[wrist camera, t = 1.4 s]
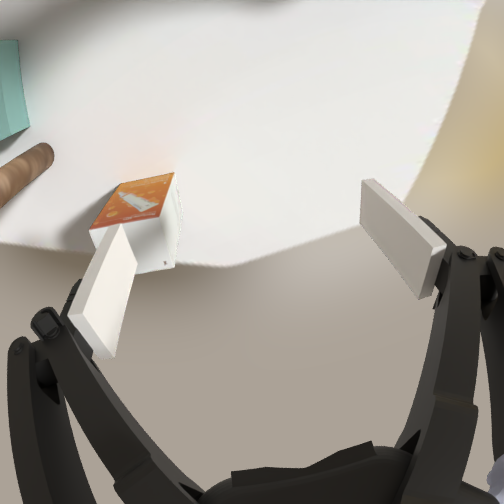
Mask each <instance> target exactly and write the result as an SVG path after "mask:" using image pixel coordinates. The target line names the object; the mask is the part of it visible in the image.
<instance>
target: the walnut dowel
mask: <svg viewBox="0 0 504 504" xmlns="http://www.w3.org/2000/svg"><path fill="white" fill-rule="evenodd" d="M53 161H54V152H53V149H52V148H51V146H50V145H49V144H47V143H39V144H37V145H36V146H34V147H32V148H31V149H29V150H27V151H26V152H24V153H22V154H21V155H19V156H17V157H16V158H14V159H13V160H11V161H10V162H8V163H7V164H5V165H4V166H2V167H1V168H0V208H2V207H3V206H4V205H5V204H6V203H7V202H8V201H9V200H10V199H11V198H12V197H14V196H15V195H16V194H17V193H18V192H19V191H20V190H22V189H23V188H24V187H25V186H26V185H28V184H29V183H30V182H31V181H32V180H34V179H35V178H36V177H37V176H39V175H40V174H41V173H42V172H44V171H45V170H46V169H48V168H49V167H50V166H51V165H52V163H53Z"/></svg>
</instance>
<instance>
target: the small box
mask: <svg viewBox="0 0 504 504" xmlns="http://www.w3.org/2000/svg"><path fill="white" fill-rule="evenodd" d="M182 216H183V210H182V205H181V201H180V196H179V191H178V187H177V182H176V177H175V173H174V172H173V173H169V174H164V175H160V176H155V177H150V178H145V179H140V180H136V181H131V182H126V183H121V184H120V185H119V186H118V188H117V189H116V191H115V192H114V193H113V195H112V196H111V198H110V199H109V200H108V202H107V203H106V205H105V206H104V208H103V209H102V211H101V212H100V214H99V215H98V217H97V218H96V220H95V221H94V223H93V224H92V226H91V227H90V229H89V233H90V236H91V238H92V241H93V243H94V246H95V248H96V250H97V248H98V246H99V244H100V242H101V240H102V238H103V236H104V235H105V233H106V231H107V229H108V227H109V226H112V225H116V224H120V223H121V224H122V227H123V229H124V232H125V234H126V237H127V239H128V242H129V244H130V247H131V249H132V252H133V254H134V256H135V259H136V261H137V263H138V265H137V268H136V271H135V274H141V273H146V272H151V271H157V270H163V269H169V268H174V267H175V261H176V254H177V247H178V241H179V235H180V229H181V223H182Z"/></svg>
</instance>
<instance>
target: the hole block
mask: <svg viewBox="0 0 504 504" xmlns="http://www.w3.org/2000/svg"><path fill="white" fill-rule="evenodd" d="M27 127H30V123H29V119H28V114H27V109H26V104H25V98H24V92H23V86H22V79H21V72H20V63H19V53H18V40H0V141H1V140H3V139H5V138H7V137H9V136H11V135H13V134H15V133H17V132H19V131H21V130H23V129H25V128H27Z"/></svg>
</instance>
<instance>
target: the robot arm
mask: <svg viewBox="0 0 504 504" xmlns="http://www.w3.org/2000/svg"><path fill="white" fill-rule="evenodd" d="M360 224H361V226H362V227H363V228H364V229H365V230H366V232H367V233H368V234H369V235H370V237H371V238H372V239H373V240H374V242H375V243H376V244H377V245H378V246H379V248H380V249H381V250H382V252H383V253H384V254H385V256H386V257H387V258H388V260H389V261H390V262H391V263H392V265H393V266H394V267H395V269H396V270H397V271H398V273H399V274H400V275H401V277H402V278H403V280H404V281H405V282H406V284H407V285H408V286H409V288H410V289H411V291H412V292H413V293H414V295H415V296H416V298H417V299H418V300H419V299H422V298H425V297H428V296H431V295H432V292H433V289H434V286H436V287H437V289H438V290H439V293H438V295H437V298H436V301H435V304H434V306H433V309H435V313H434V319H433V325H432V330H431V335H430V340H429V344H428V349H427V353H426V358H425V362H424V366H423V370H422V374H421V377H420V381H419V385H418V388H417V392H416V395H415V398H414V401H413V405H412V408H411V411H410V414H409V417H408V419H407V422H406V425H405V428H404V430H403V432H402V434H401V435H400V437H399V439H398V441H397V443H396V445H395V447H394V448H393V447H386V446H373V444H372V441H369V442H366V443H363V444H360V445H357V446H353V447H350V448H347V449H344V450H340V451H338V452H336V453H334V454H332V455H330V456H328V457H327V458H325V459H323V460H321V461H319V462H317V463H315V464H313V465H311V466H309V467H306V468H274V467H263V468H257V469H248V470H241V471H231V478H229V479H226V480H224V481H222V482H219V483H218V484H216V485H214V486H213V487H211V488H210V489H209V490H207V491H206V492H205V491H204V490H203V489H201V488H200V487H199V486H198V485H197V484H196V483H195V482H193V481H192V480H191V479H189V478H188V477H187V476H186V475H185V474H184V473H183V472H181V470H180V469H179V468H178V467H177V466H175V464H174V463H173V462H172V461H171V460H170V459H169V458H168V457H167V456H166V455H165V454H164V453H163V451H162V450H161V449H160V448H159V447H158V446H157V445H156V444H155V442H154V441H153V440H152V439H151V438H150V437H149V435H148V434H147V433H146V432H145V431H144V429H143V428H142V427H141V426H140V425H139V423H138V422H137V421H136V420H135V418H134V417H133V416H132V415H131V413H130V412H129V411H128V410H127V408H126V407H125V406H124V404H123V403H122V401H121V400H120V399H119V397H118V396H117V394H116V393H115V392H114V390H113V389H112V387H111V386H110V385H109V383H108V382H107V380H106V379H105V377H104V376H103V374H102V373H101V371H100V370H99V368H98V367H97V365H96V364H95V362H94V361H93V360H92V354H93V351H94V353H95V354H96V355H97V356H98V358H99V359H110V358H114V357H115V353H116V348H117V343H118V339H119V334H120V330H121V325H122V321H123V317H124V313H125V309H126V305H127V301H128V297H129V293H130V289H131V285H132V282H133V279H134V275H135V271H136V268H137V265H138V263H137V261H136V259H135V256H134V254H133V252H132V249H131V247H130V244H129V242H128V239H127V237H126V234H125V232H124V229H123V227H122V224H121V223H120V224H116V225H112V226H109V227H108V229H107V231H106V233H105V235H104V236H103V238H102V240H101V242H100V244H99V246H98V248H97V250H96V252H95V254H94V256H93V258H92V260H91V263H90V265H89V267H88V269H87V271H86V273H85V275H84V277H83V279H79V280H78V281H77V282H76V283H75V285H74V286H73V287H72V289H71V292H70V294H69V296H68V298H67V302H66V303H65V305H64V307H63V310H62V312H61V314H60V316H59V315H58V314H57V312H56V311H55V309H53V307H46V308H43V309H41V310H40V311H39V312H37V313H36V314H35V316H34V317H33V318H32V321H31V329H32V330H33V331H34V332H35V334H36V335H37V336H38V337H39V339H40V340H38V341H35V342H33V343H31V342H30V341H29V340H28V339H27V338H26V337H23V336H22V337H19V338H17V339H16V340H14V341H13V342H12V344H11V346H10V348H9V350H8V363H7V396H8V416H9V428H10V437H11V445H12V452H13V458H14V464H15V469H16V475H17V480H18V484H19V488H20V493H21V496H22V500H23V504H97V503H96V501H95V499H94V496H93V494H92V491H91V488H90V486H89V484H88V480H87V478H86V475H85V472H84V469H83V466H82V463H81V460H80V457H79V454H78V451H77V447H76V443H75V440H74V437H73V432H72V428H71V425H70V420H69V416H68V412H67V408H66V403H65V398H66V400H67V402H68V403H69V406H70V408H71V409H72V411H73V413H74V415H75V417H76V419H77V421H78V423H79V424H80V426H81V428H82V430H83V431H84V433H85V435H86V437H87V438H88V440H89V442H90V443H91V445H92V447H93V448H94V450H95V451H96V453H97V454H98V456H99V457H100V459H101V461H102V462H103V464H104V465H105V467H106V468H107V469H108V471H109V472H110V474H111V475H112V477H113V478H114V480H115V483H114V485H113V486H114V489H115V491H116V492H117V494H118V496H119V497H120V498H121V500H122V501H123V502H124V503H125V504H504V249H503V248H499V247H492V248H491V249H490V251H489V254H488V256H477V254H476V253H475V252H474V251H473V250H472V249H470V248H468V247H465V246H456V245H455V244H453V242H452V241H451V240H450V239H449V238H448V237H446V236H445V235H444V234H443V233H442V232H441V231H440V230H439V229H438V228H437V227H435V225H434V224H433V223H431V222H430V221H429V220H428V219H426V218H424V217H422V216H417V215H416V214H415V213H413V212H412V211H411V210H410V209H409V208H408V207H407V206H406V205H404V204H403V203H402V202H401V201H400V200H399V199H398V198H396V197H395V196H394V195H393V194H392V193H390V192H389V191H388V190H387V189H386V188H384V187H383V186H382V185H381V184H380V183H378V182H377V181H376V180H375V179H366V180H362V185H361V208H360ZM480 332H481V336H482V341H483V347H484V353H485V359H486V366H487V373H488V381H489V390H490V402H491V419H492V445H493V455H494V461H495V463H494V465H493V467H492V470H491V471H490V472H489V474H488V475H487V483H488V484H489V485H490V489H489V491H488V492H485V491H483V490H481V489H479V488H476V487H474V486H472V485H470V484H468V483H466V482H464V481H462V477H463V474H464V471H465V467H466V464H467V461H468V457H469V454H470V450H471V446H472V442H473V438H474V433H475V428H476V424H477V418H478V407H477V406H476V405H474V404H473V397H474V391H475V384H476V376H477V367H478V356H479V343H480ZM64 396H65V398H64Z"/></svg>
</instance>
